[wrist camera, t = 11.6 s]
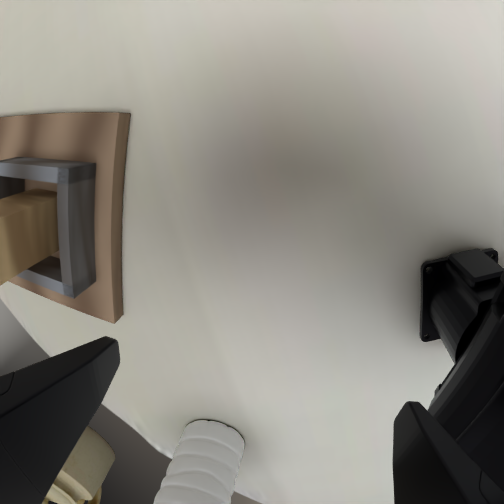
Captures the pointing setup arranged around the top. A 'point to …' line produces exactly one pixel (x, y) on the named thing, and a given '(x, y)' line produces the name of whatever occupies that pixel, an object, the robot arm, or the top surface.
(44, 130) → the wooden fixture board
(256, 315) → the top surface
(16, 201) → the beige block
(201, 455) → the water bottle
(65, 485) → the sugar bowl
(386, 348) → the top surface
